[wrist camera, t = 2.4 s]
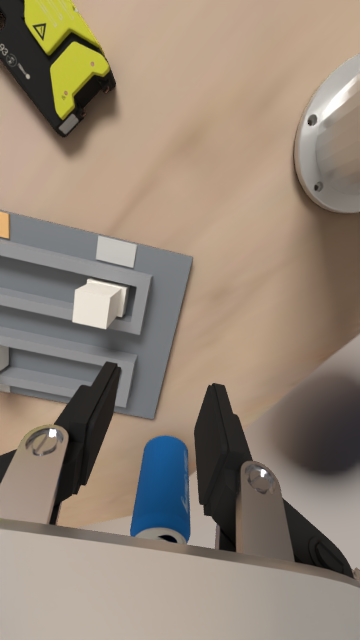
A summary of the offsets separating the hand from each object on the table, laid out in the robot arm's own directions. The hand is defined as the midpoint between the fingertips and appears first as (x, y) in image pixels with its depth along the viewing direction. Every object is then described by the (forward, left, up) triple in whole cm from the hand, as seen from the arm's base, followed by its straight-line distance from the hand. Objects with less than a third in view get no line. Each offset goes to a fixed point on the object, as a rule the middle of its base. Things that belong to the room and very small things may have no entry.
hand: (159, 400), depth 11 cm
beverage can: (-4, +22, -18) cm, 28 cm away
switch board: (+14, +5, -17) cm, 23 cm away
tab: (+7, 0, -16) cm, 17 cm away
